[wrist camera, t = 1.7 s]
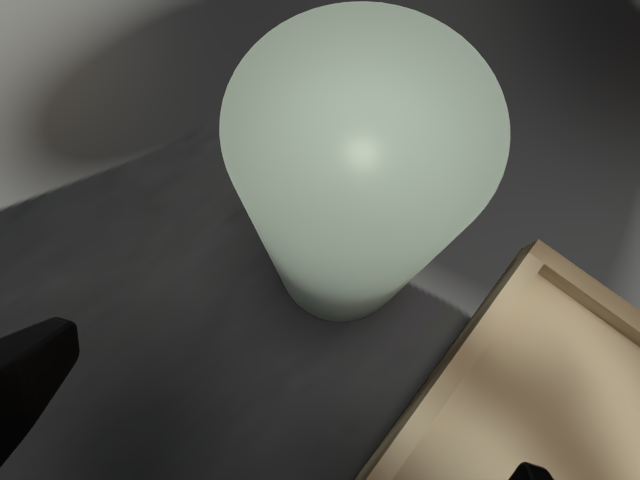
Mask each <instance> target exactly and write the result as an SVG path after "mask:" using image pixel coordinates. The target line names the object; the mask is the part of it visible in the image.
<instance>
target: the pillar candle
mask: <svg viewBox="0 0 640 480" xmlns="http://www.w3.org/2000/svg"><path fill="white" fill-rule="evenodd" d="M219 135H220V143H221V151H222V155H223V159H224V163H225V166H226V169H227V172H228V174H229V176H230V179H231V181H232V183H233V185H234V187H235V189H236V191H237V193H238V195H239V197H240V199H241V201H242V203H243V205H244V207H245V209H246V211H247V213H248V215H249V217H250V219H251V221H252V223H253V225H254V227H255V229H256V231H257V233H258V235H259V237H260V239H261V241H262V243H263V245H264V246H265V248H266V250H267V252H268V254H269V256H270V258H271V260H272V262H273V264H274V266H275V268H276V270H277V272H278V274H279V276H280V278H281V280H282V282H283V284H284V286H285V288H286V290H287V291H288V293H289V295H290V296H291V297H292V299H293V300H294V301H295V302H296V303H297V304H298V305H299V306H300V307H301V308H302V309H304V310H305V311H307V312H308V313H310V314H312V315H313V316H315V317H318V318H321V319H323V320H328V321H333V322H350V321H356V320H359V319H362V318H365V317H367V316H369V315H371V314H373V313H375V312H376V311H378V310H379V309H380V308H381V307H383V306H384V305H385V304H386V303H387V302H388V301H389V300H390V299H391V298H392V297H393V296H394V295H395V294H396V293H398V292H399V291H400V290H401V289H402V288H403V287H404V286H405V285H406V284H407V283H408V282H409V281H410V280H411V279H412V278H413V277H414V276H416V274H418V272H420V271H421V270H422V269H423V268H424V267H425V266H426V265H427V264H428V263H429V262H430V261H431V260H432V259H433V258H435V257H436V255H438V254H439V253H440V252H441V251H442V250H443V249H444V248H445V247H446V246H447V245H448V244H449V243H450V242H451V241H452V240H454V238H455V237H457V236H458V235H459V234H460V233H461V232H462V231H463V230H464V229H465V228H466V227H467V226H468V225H469V224H470V223H472V222H473V221H474V219H475V218H476V217H477V216H478V215H479V214H480V213H481V211H482V210H483V209H484V208H485V207H486V205H487V204H488V202H489V201H490V199H491V198H492V196H493V195H494V193H495V192H496V190H497V187H498V185H499V183H500V181H501V179H502V177H503V174H504V170H505V167H506V163H507V160H508V153H509V147H510V121H509V116H508V109H507V105H506V102H505V99H504V96H503V92H502V90H501V88H500V86H499V84H498V81H497V79H496V77H495V75H494V74H493V72H492V70H491V69H490V67H489V66H488V64H487V63H486V61H485V60H484V59H483V58H482V56H481V55H480V54H479V53H478V52H477V50H476V49H475V48H474V47H473V46H472V45H471V44H469V43H468V42H467V41H466V40H465V39H464V38H463V37H462V36H461V35H459V34H457V33H456V32H455V31H454V30H452V29H451V28H449V27H448V26H446V25H445V24H443V23H441V22H439V21H438V20H436V19H434V18H432V17H430V16H427V15H425V14H423V13H420V12H418V11H415V10H412V9H408V8H405V7H402V6H398V5H393V4H387V3H381V2H367V1H361V2H343V3H336V4H330V5H326V6H322V7H318V8H314V9H311V10H309V11H306V12H303V13H301V14H298V15H296V16H294V17H292V18H290V19H289V20H287V21H285V22H283V23H281V24H280V25H278V26H277V27H275V28H274V29H272V30H271V31H269V32H268V33H267V34H266V35H265V36H263V37H262V38H261V39H260V40H259V41H258V42H257V43H255V45H254V46H253V47H252V48H251V49H250V50H249V51H248V53H247V54H246V55H245V56H244V58H243V59H242V60H241V62H240V63H239V65H238V66H237V68H236V69H235V71H234V73H233V76H232V78H231V80H230V81H229V83H228V86H227V89H226V92H225V95H224V98H223V102H222V108H221V113H220V130H219Z"/></svg>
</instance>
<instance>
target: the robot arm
mask: <svg viewBox="0 0 640 480" xmlns="http://www.w3.org/2000/svg"><path fill="white" fill-rule="evenodd" d="M78 356H79V341H78V332H77V326H76V324H75V323H74V322H72V321H69V320H66V319H63V318H59V317H53V318H50V319H47V320H45V321H42V322H40V323H37V324H34V325H32V326H29V327H27V328H24V329H22V330H19V331H17V332H14V333H12V334H9V335H7V336H4V337H1V338H0V467H1V466H2V465H3V463H4V462H5V461H6V460H7V458H8V457H9V456H10V455H11V454H12V452H13V451H14V450H15V449H16V447H17V446H18V445H19V444H20V443H21V441H22V440H23V439H24V438H25V436H26V435H27V434H28V432H29V431H30V430H31V428H32V427H33V426H34V424H35V423H36V421H37V420H38V419H39V417H40V416H41V414H42V413H43V411H44V410H45V408H46V407H47V405H48V404H49V402H50V401H51V399H52V398H53V396H54V395H55V393H56V392H57V390H58V389H59V387H60V386H61V384H62V383H63V381H64V380H65V378H66V377H67V375H68V374H69V372H70V371H71V369H72V368H73V366H74V365H75V363H76V361H77V359H78ZM508 480H554V478H553V477H552V475H551V474H550V473H549V471H548V470H547V469H545V468H544V467H541V466H538V465H535V464H532V463H529V462H522V463H520V464H519V465H518V467H517V468H516V470H515V471H514V472H513V474H512V475H511V477H510V478H509V479H508Z"/></svg>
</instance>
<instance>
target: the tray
mask: <svg viewBox="0 0 640 480" xmlns="http://www.w3.org/2000/svg"><path fill="white" fill-rule="evenodd" d="M522 462H529V463H532V464H535V465H538V466H541V467H544V468H545V469H547V470H548V471H549V473H550V474H551V475H552V477H553V478H554V480H640V311H639V310H638V309H636V308H635V307H633V306H632V305H630V304H629V303H628V302H626V301H625V300H623V299H622V298H621V297H619V296H618V295H616V294H615V293H614V292H612V291H611V290H609V289H608V288H606V287H605V286H603V285H602V284H601V283H599V282H598V281H596V280H595V279H594V278H592V277H591V276H589V275H588V274H587V273H585V272H584V271H583V270H581V269H580V268H578V267H577V266H576V265H574V264H573V263H571V262H570V261H568V260H567V259H565V258H564V257H563V256H561V255H560V254H559V253H557V252H556V251H554V250H553V249H551V248H550V247H549V246H547V245H546V244H544V243H543V242H542V241H540V240H539V239H538V240H536V241H534V242H532V243H531V244H529V245H527V246H526V247H524V248H522V249H521V250H520V252H519V253H518V254H517V256H516V257H515V258H514V260H513V261H512V263H511V264H510V265H509V267H508V268H507V269H506V271H505V272H504V274H503V275H502V276H501V278H500V279H499V281H498V282H497V283H496V285H495V286H494V287H493V289H492V290H491V292H490V293H489V294H488V296H487V297H486V298H485V300H484V301H483V303H482V304H481V305H480V307H479V308H478V310H477V311H476V312H475V314H474V315H473V316H472V318H471V319H470V321H469V322H468V323H467V325H466V326H465V327H464V329H463V330H462V332H461V333H460V334H459V336H458V337H457V339H456V340H455V341H454V343H453V344H452V345H451V347H450V348H449V350H448V351H447V352H446V354H445V355H444V357H443V358H442V359H441V361H440V362H439V363H438V365H437V366H436V368H435V369H434V370H433V372H432V373H431V375H430V376H429V377H428V379H427V380H426V381H425V383H424V384H423V386H422V387H421V388H420V390H419V391H418V393H417V394H416V395H415V397H414V398H413V399H412V401H411V402H410V404H409V405H408V406H407V408H406V409H405V410H404V412H403V413H402V415H401V416H400V417H399V419H398V420H397V422H396V423H395V424H394V426H393V427H392V428H391V430H390V431H389V433H388V434H387V435H386V437H385V438H384V440H383V441H382V442H381V444H380V445H379V446H378V448H377V449H376V451H375V452H374V453H373V455H372V456H371V458H370V459H369V460H368V462H367V463H366V464H365V466H364V467H363V469H362V470H361V471H360V473H359V474H358V476H357V477H356V478H355V480H508V479H509V478H510V477H511V475H512V474H513V472H514V471H515V470H516V468H517V467H518V465H519V464H520V463H522Z"/></svg>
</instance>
